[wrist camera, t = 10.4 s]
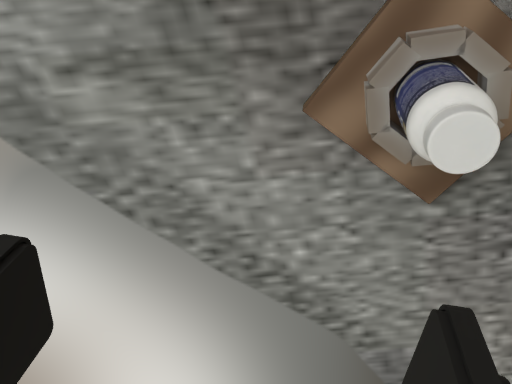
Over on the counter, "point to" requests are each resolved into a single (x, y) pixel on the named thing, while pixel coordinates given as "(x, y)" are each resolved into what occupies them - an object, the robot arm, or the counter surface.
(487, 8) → the hub board
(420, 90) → the pill bottle
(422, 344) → the robot arm
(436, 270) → the counter surface
